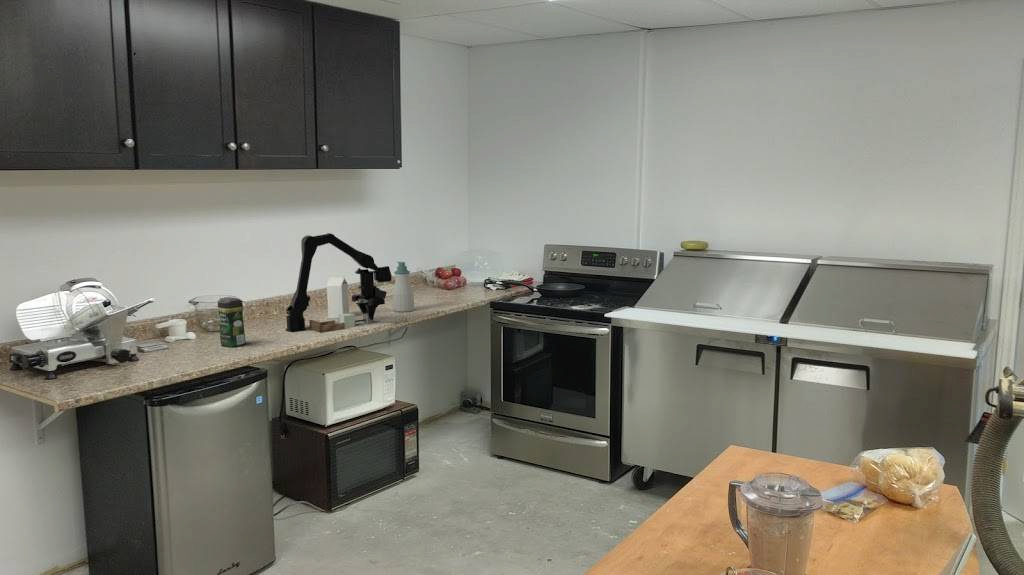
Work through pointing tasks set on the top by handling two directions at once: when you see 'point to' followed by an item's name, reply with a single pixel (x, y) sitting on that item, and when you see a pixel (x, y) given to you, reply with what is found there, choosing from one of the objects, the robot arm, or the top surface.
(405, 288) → the soap bottle
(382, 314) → the top surface
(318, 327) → the walnut lane
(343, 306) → the milk carton
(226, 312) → the coffee jar
